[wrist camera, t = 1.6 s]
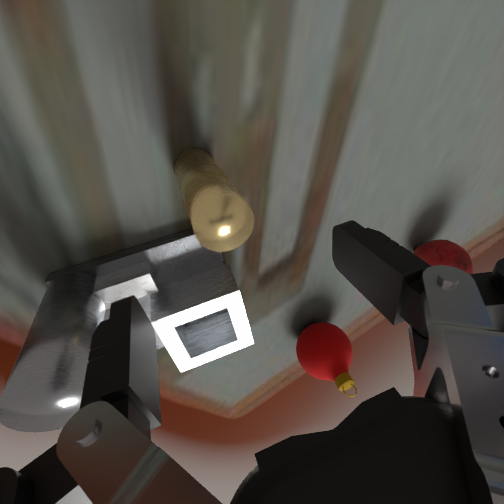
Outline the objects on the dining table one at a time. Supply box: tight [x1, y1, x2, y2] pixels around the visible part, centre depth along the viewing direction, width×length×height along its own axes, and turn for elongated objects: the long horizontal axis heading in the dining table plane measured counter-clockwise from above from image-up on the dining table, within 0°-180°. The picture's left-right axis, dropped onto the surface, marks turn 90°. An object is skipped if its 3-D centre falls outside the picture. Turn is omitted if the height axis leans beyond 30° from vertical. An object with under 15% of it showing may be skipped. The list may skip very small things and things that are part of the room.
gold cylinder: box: [175, 148, 254, 252], centre depth 18 cm, size 3×3×10 cm
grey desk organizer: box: [0, 228, 254, 432], centre depth 23 cm, size 15×12×11 cm
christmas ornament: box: [296, 322, 357, 397], centre depth 35 cm, size 7×7×10 cm
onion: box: [414, 240, 473, 274], centre depth 34 cm, size 6×6×8 cm
